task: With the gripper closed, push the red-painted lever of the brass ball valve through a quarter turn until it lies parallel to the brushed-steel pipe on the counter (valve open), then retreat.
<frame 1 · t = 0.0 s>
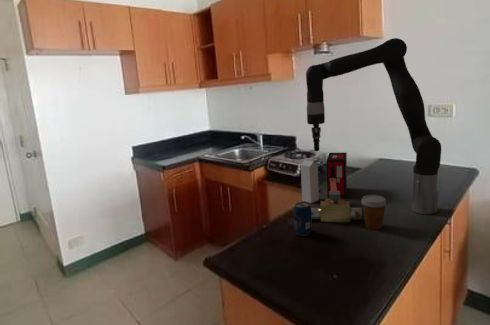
hand: (316, 148, 150), 29 cm above the worktop, fingers open, 8 cm apart
lever: (333, 190, 150), point 11 cm above the worktop, hinge at 0.0°
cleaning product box: (337, 193, 178), on the worktop
soda can: (303, 233, 135), on the worktop
disposable coffee cup: (373, 226, 136), on the worktop
pipe valve: (335, 218, 146), on the worktop
milk: (310, 200, 170), on the worktop
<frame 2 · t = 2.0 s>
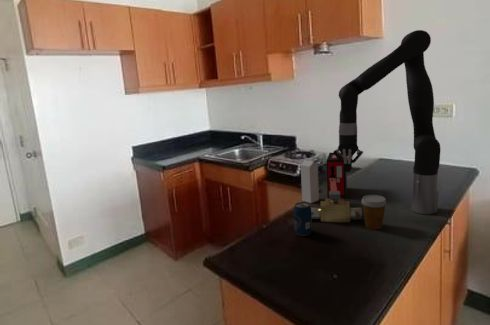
hand: (348, 171, 149), 19 cm above the worktop, fingers closed
nothing on the worktop moved.
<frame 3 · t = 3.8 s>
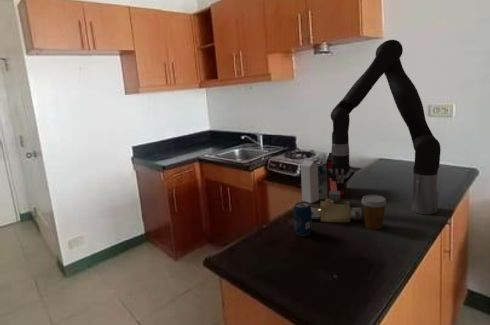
hand: (341, 190, 152), 10 cm above the worktop, fingers closed
lever: (333, 190, 150), point 11 cm above the worktop, hinge at 0.2°, touching gripper
everything else where it was.
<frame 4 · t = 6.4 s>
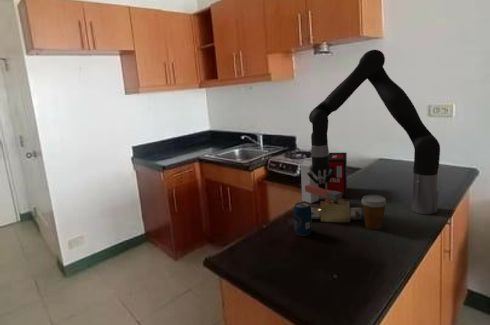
hand: (321, 191, 154), 10 cm above the worktop, fingers closed
lever: (322, 192, 149), point 11 cm above the worktop, hinge at 47.6°, touching gripper
everything else where it was.
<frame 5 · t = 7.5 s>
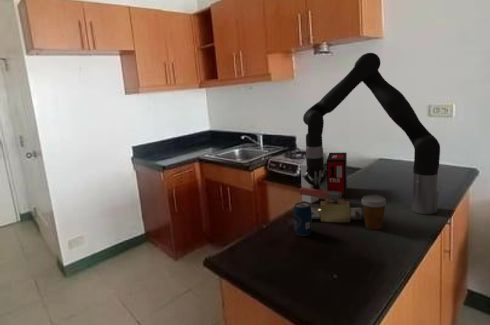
hand: (316, 192, 152), 10 cm above the worktop, fingers closed
lever: (319, 193, 148), point 11 cm above the worktop, hinge at 63.9°, touching gripper
everything else where it was.
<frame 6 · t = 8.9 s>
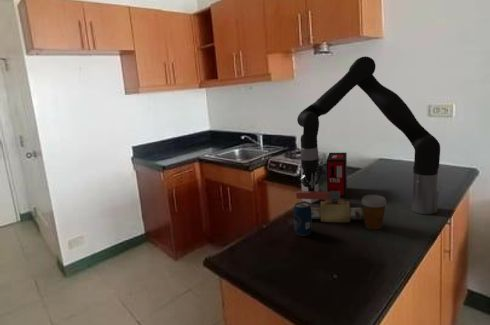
hand: (311, 194, 150), 10 cm above the worktop, fingers closed
lever: (317, 195, 145), point 11 cm above the worktop, hinge at 84.1°, touching gripper
everything else where it was.
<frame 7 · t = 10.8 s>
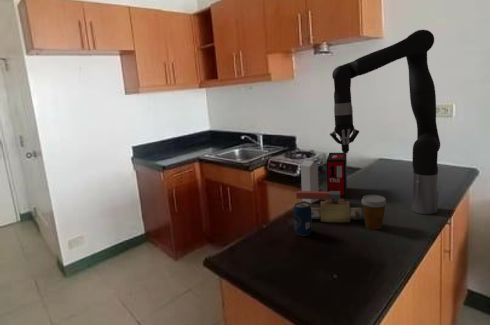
hand: (345, 152, 148), 27 cm above the worktop, fingers closed
lever: (317, 195, 145), point 11 cm above the worktop, hinge at 84.2°
everything else where it was.
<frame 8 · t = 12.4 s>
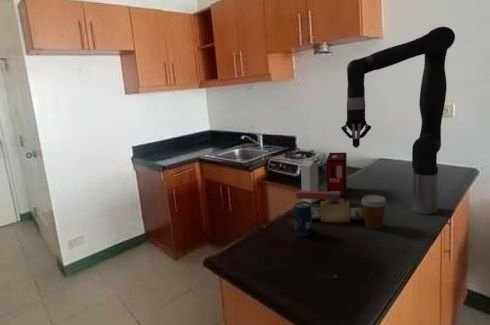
hand: (356, 147, 148), 29 cm above the worktop, fingers closed
nothing on the worktop moved.
at the end: lever at +84° (first picture: +0°) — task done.
